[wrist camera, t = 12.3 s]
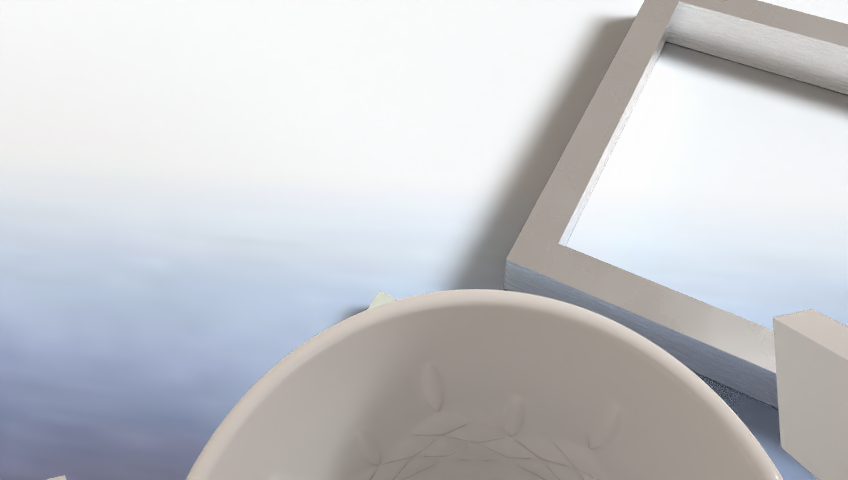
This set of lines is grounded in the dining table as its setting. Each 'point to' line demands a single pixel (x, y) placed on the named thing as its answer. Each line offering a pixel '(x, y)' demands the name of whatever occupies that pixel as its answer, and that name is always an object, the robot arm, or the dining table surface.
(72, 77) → the dining table surface
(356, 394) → the white cup
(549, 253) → the square frame
